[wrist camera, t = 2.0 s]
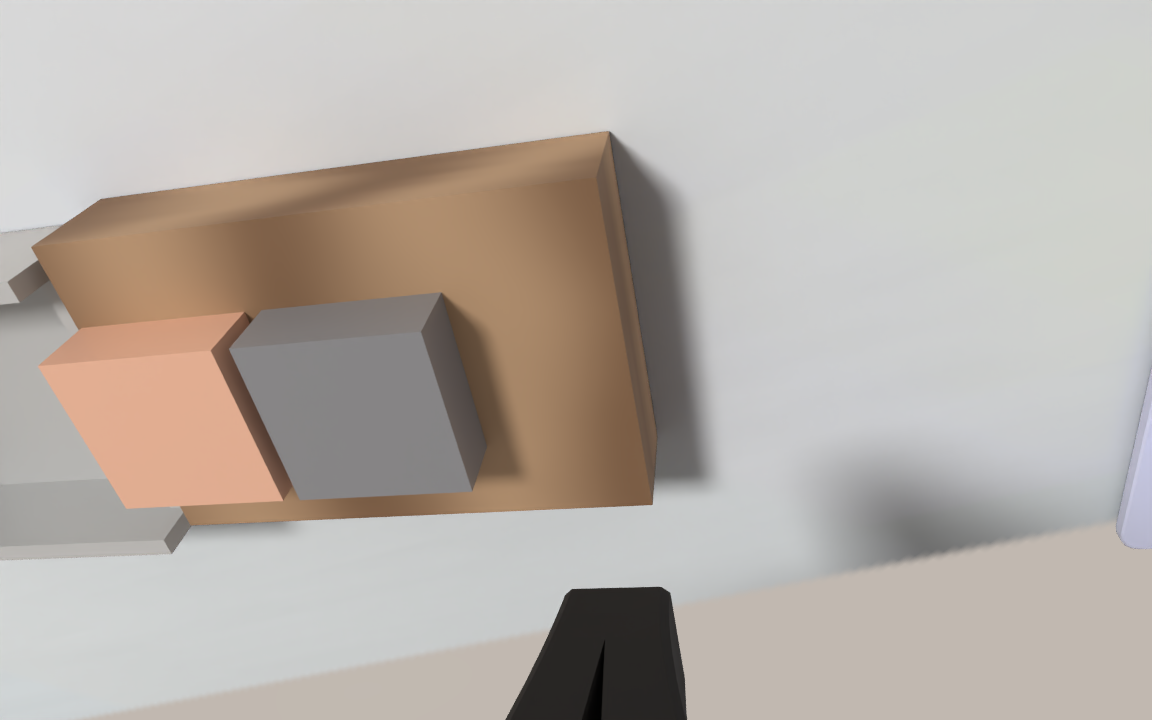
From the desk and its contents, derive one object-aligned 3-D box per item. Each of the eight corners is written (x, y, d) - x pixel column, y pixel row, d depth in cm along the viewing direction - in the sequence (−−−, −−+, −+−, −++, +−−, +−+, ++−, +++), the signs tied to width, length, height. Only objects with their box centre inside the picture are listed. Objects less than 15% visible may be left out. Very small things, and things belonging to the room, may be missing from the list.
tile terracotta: (244, 311, 18) (210, 350, 17) (309, 457, 20) (283, 500, 19) (81, 328, 19) (37, 366, 18) (160, 466, 21) (126, 508, 20)
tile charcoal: (441, 292, 17) (420, 331, 16) (487, 446, 19) (472, 491, 18) (261, 310, 18) (228, 348, 17) (324, 456, 20) (299, 500, 19)
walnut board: (609, 131, 17) (595, 177, 15) (657, 437, 22) (652, 504, 20) (101, 199, 20) (30, 247, 18) (234, 462, 24) (190, 525, 22)
